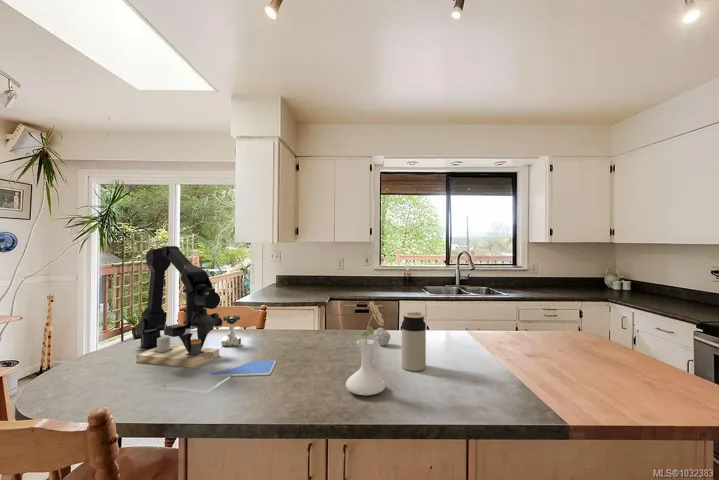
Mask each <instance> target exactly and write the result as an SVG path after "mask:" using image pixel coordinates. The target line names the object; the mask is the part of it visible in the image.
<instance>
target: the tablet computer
mask: <svg viewBox="0 0 719 480" xmlns="http://www.w3.org/2000/svg"><path fill="white" fill-rule="evenodd" d="M276 364H277V360H275V359H271V360H270V359H269V360H251V361H250V362H246V363H243V364H241V365H238V366H235V367H232V368H228V369H224V370H219V371H215V372H210V373H209V376H216V375H217V376H220V375H222V376H223V375H224V376H225V375H228V376H227V377H228V378H229V376H230V377H251V376H253V377H255V376H256V377H257V376H270V375H272V372H273V370H274V368H275V366H276Z"/></svg>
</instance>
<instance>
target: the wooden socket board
mask: <svg viewBox="0 0 719 480" xmlns="http://www.w3.org/2000/svg"><path fill="white" fill-rule="evenodd" d="M219 356H220V348H209V347H202V349H201V354H199V355H197V356H189V355H188V352H187V350H186V348H185V346H184V345H173V344H172V345H171V344H170V351H168V352H166V353H157V347H155V348H152V349H147V350H145V351H143V352H140V353H138V354H136V358H135V361H136V363H142V364H152V365H153V364H154V365H155V364H156V365H162V366H163V365H165V366H173V367H185V368H192V369H193V368H194V369H197V368H199V367H201V366H202V365H205V364H206V363H209V362H211V361H212V360H214V359H216V358H218V357H219Z"/></svg>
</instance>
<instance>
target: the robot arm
mask: <svg viewBox="0 0 719 480" xmlns="http://www.w3.org/2000/svg"><path fill="white" fill-rule="evenodd" d="M145 260H146V263H145V264H146V266H147V267H148V269H149V270H150V274H149V286H148V298H147V307H146V308H145V309H144V311H142V313H141V318H140V320H139V322H138V324H137V325H136V327H135V332H136V334H137V335H140V346H139V347H137V349H144V350H145V349H146V350H151V349H154V348H156V347H157V338H160V337H162V335H161V332H163V335H164V336H166V337H170V338H175V337H177V338H179V339H180V341H181V342H182V344H183V346H185V348H186V350H187V352H190V351H191V340H192V339H191V338H192V336H193V333H191V330H194V329H196V331H197V332H196V333H197V339H201V349H202V348H204V344H205V341H206V339H207V337H208V334H209V333H210V332H211V331H213V330H214V328H216V327H221V326H223V319H222V318H221V317H220V314H219V313H217V312H213V313H212V314H211V313H210V314H208V309H210V310H215V309H216V308H217V307H218V306H219V305H220V304H221V297H220V295H219V293H218V292H216V289H215V288H214V287H213V283H212V282H211V280H210V278H209V276H208V274H207V273H208V272H207V271H206V270H205V269H203V268H202V267H200V266H196V265H194V264H193V263H192V262H191V260H189V258H187V256H185V255H184V254H183V252H182V251H181V250H180V247H179V246H178V245H165V246H162V247H160V248H150V249H149V250H148V251H147V252H146V254H145ZM171 265H173V267H174V268H175V270H177V271H178V272H179V273H180V280H181V282H182V283H183V286H184V287H185V288H184V289H183V291H182V292H183V293H184V294H185V308H184V309H183V313H185V320H183V325H182V324H181V325H180V324H176V323H175V324H171V325H166V324H167V315H168V314H167V312H166V311H165V310H164V308H163V298H164V297H163V296H164V285H165V277H166V272H167V270H168V269H169V268H170V266H171Z"/></svg>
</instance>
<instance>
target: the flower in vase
mask: <svg viewBox="0 0 719 480" xmlns="http://www.w3.org/2000/svg"><path fill="white" fill-rule="evenodd" d="M369 307H370V310H371V313H372V315H371V316H370V319H369V320H368V324H367V326H366V327H367V328H366V331H363V333H362V334H361V335H360V336H361V337H365V338H364V339H358V340H357V341H356V343H357V345H358V346H359V348H360V352H361V355H360V356H361V366H360V368H359V369H358V370H357V371H355V372H354V373H353V374H352V375H350V376H349V378H347V380H346V382H345V388H346V389H347V390H348V391H349V392H350V393H352V394H355V395H359V396H360V395H361V396H372V395H377V394H380V393H381V392H383V391H384V390H385V388H386V385H387V384H386V382H385V379H384V378H383V377H381V376H380V374H379V373H377V372H375V370H373V369H372V367H371V365H370V363H371V362H370V361H371V360H370V356H371V350H372V348H373V345H374V344H375V340H372V339H368V336H369V335H373V334H374V332H375V330H374V329H373V327H372V326H371V325H370V323H371V322H372V320H373V318H374V319H375V321H376V322H377V325H379V326H381V327H383V326H385V324H384V323H385V320H384V318H382V317H383V315H382V313H381V312H380V310H379V307H378V306H377V305H375V302H374V301H373V300H372V301H371V300H370V301H369Z"/></svg>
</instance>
